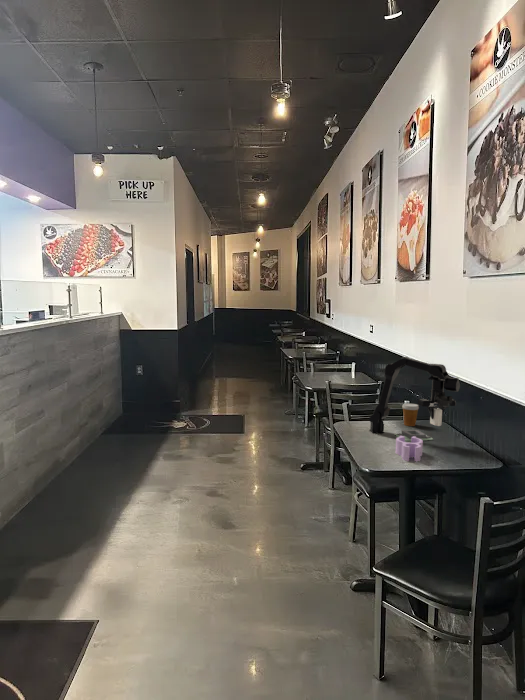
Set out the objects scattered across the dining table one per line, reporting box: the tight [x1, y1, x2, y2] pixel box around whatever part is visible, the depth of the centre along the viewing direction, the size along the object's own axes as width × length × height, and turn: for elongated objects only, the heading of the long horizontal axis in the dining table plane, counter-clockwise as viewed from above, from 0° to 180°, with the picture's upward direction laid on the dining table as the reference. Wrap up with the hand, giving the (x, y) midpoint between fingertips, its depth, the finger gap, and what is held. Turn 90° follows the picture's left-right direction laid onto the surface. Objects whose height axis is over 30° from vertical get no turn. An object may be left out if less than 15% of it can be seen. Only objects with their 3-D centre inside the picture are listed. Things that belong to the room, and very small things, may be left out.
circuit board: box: [394, 432, 434, 442], centre depth 289 cm, size 16×12×1 cm
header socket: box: [401, 429, 427, 439], centre depth 289 cm, size 9×10×2 cm
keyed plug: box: [429, 404, 443, 427], centre depth 278 cm, size 4×6×10 cm, turn 11°
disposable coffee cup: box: [401, 402, 420, 427], centre depth 316 cm, size 10×10×12 cm
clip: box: [395, 436, 424, 463], centre depth 258 cm, size 20×12×7 cm, turn 171°
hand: (435, 418), depth 278 cm, fingers closed on keyed plug, 4 cm apart
